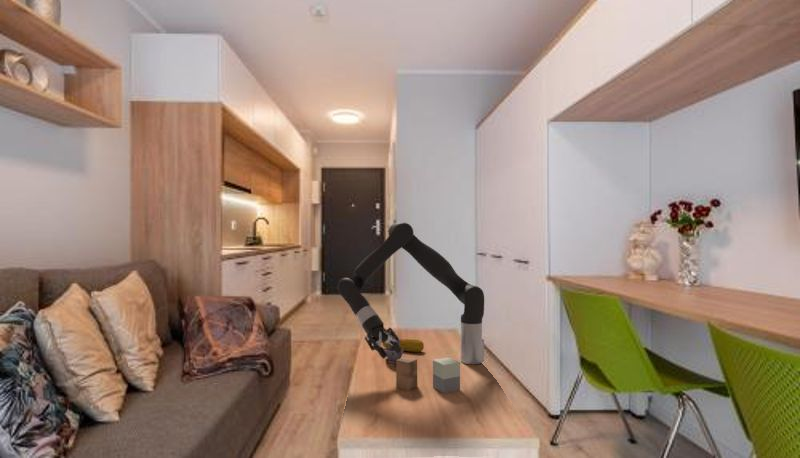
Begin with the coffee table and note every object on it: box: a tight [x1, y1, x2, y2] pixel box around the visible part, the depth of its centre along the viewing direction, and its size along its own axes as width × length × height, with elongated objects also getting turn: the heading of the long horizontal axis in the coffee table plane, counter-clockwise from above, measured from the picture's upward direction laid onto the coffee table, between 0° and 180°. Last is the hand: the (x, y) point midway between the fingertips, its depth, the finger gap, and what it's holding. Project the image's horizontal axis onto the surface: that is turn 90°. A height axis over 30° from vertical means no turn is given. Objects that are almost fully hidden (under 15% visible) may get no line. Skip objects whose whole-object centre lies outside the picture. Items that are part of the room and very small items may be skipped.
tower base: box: [432, 373, 461, 394], centre depth 155 cm, size 7×7×5 cm
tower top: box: [432, 357, 461, 379], centre depth 155 cm, size 7×7×5 cm
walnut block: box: [395, 356, 418, 392], centre depth 156 cm, size 6×6×10 cm
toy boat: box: [384, 331, 404, 364], centre depth 187 cm, size 15×8×13 cm, turn 12°
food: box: [381, 338, 425, 353], centre depth 206 cm, size 21×6×6 cm, turn 67°
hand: (392, 354), depth 160 cm, fingers open, 8 cm apart
